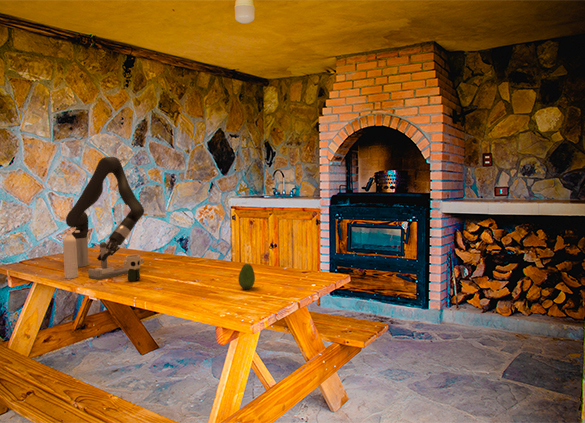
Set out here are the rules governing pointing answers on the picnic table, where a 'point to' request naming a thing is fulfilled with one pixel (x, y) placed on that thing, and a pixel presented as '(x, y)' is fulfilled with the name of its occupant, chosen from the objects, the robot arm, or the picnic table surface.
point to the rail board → (97, 276)
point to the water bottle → (70, 256)
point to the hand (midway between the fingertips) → (100, 260)
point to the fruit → (246, 277)
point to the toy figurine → (133, 266)
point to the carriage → (104, 267)
